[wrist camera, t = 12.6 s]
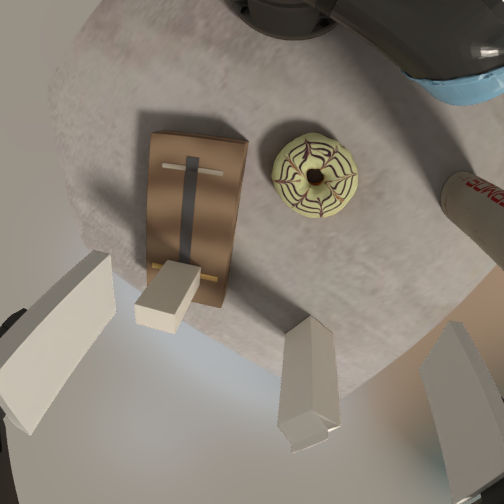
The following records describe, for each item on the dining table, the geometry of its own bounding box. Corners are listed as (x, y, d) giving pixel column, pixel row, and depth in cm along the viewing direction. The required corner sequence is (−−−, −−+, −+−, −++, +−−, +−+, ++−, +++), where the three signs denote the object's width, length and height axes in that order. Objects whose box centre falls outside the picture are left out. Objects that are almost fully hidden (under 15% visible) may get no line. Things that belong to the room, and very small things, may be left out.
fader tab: (167, 259, 43) (134, 304, 33) (200, 267, 43) (174, 314, 33) (167, 277, 44) (136, 323, 34) (199, 284, 44) (174, 334, 34)
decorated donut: (304, 117, 36) (305, 117, 33) (368, 167, 38) (375, 172, 34) (259, 180, 41) (255, 186, 37) (322, 224, 42) (324, 235, 39)
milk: (284, 333, 51) (272, 446, 32) (310, 314, 49) (310, 430, 29) (308, 351, 53) (305, 460, 33) (334, 333, 50) (342, 446, 30)
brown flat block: (163, 130, 39) (150, 133, 35) (248, 141, 38) (243, 144, 35) (156, 277, 50) (147, 290, 46) (226, 293, 49) (220, 308, 45)
